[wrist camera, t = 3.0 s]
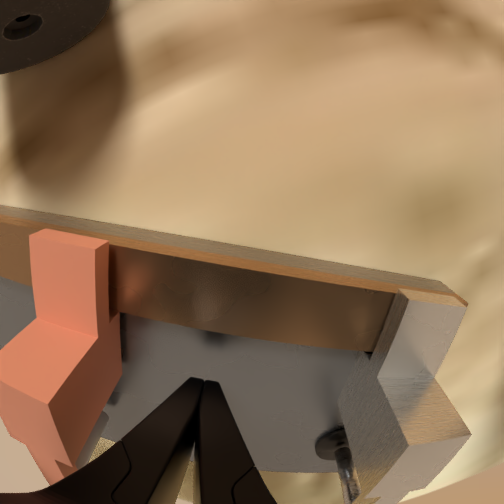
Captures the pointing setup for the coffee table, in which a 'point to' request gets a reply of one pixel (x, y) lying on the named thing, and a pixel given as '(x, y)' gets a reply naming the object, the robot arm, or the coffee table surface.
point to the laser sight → (43, 28)
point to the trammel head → (63, 355)
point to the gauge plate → (271, 349)
